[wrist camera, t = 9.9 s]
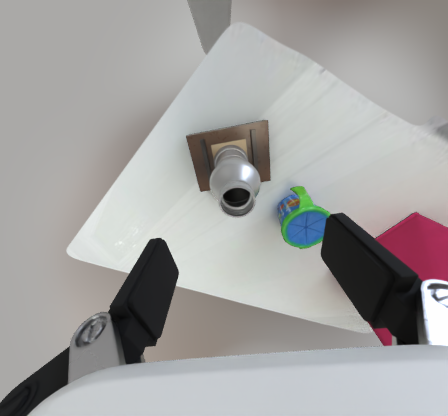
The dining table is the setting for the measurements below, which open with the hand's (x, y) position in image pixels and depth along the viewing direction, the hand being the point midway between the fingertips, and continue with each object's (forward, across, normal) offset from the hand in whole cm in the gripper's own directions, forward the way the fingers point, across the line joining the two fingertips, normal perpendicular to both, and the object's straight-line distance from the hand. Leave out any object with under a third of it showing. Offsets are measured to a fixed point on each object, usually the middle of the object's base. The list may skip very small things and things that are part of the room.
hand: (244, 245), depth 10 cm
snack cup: (+31, -14, +17) cm, 38 cm away
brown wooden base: (+32, 0, +1) cm, 32 cm away
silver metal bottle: (+28, 0, +1) cm, 28 cm away
